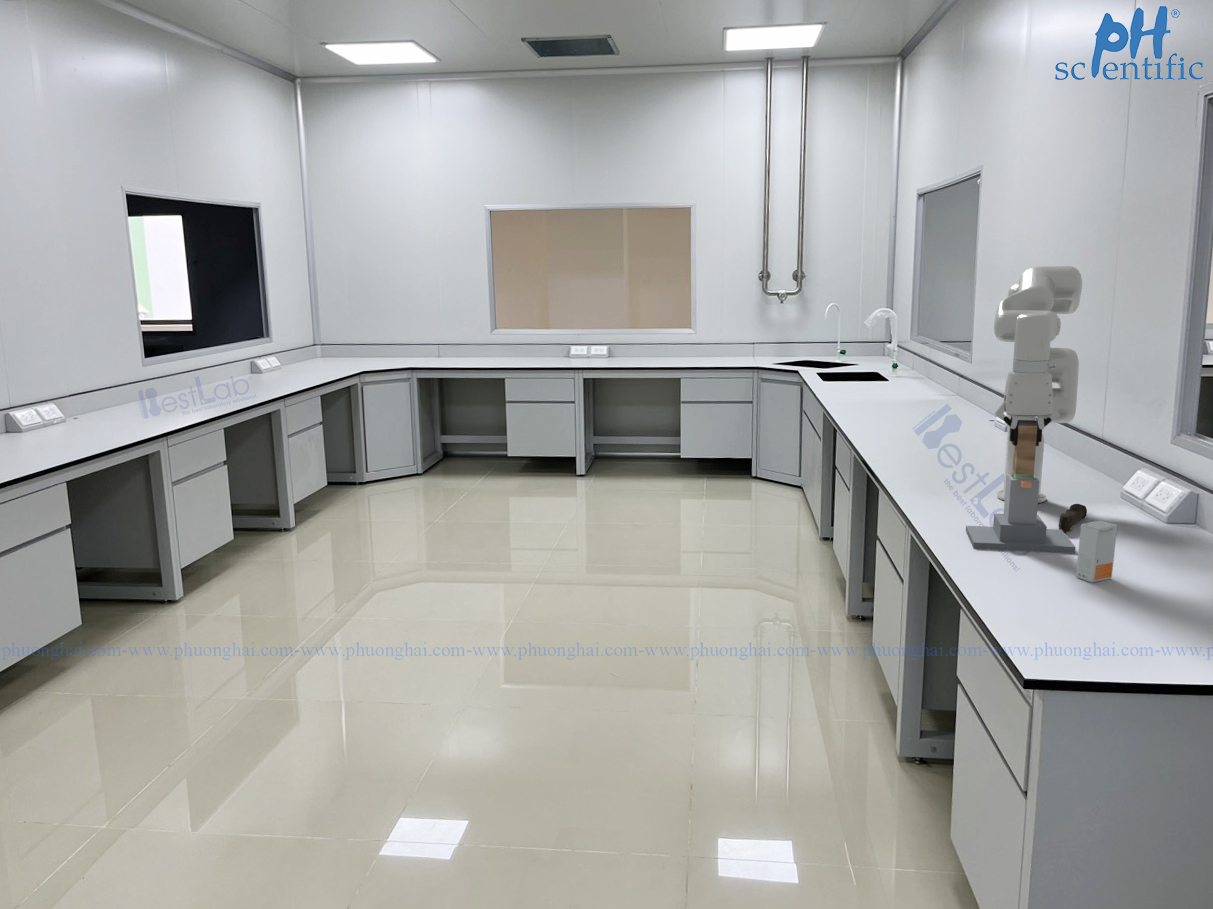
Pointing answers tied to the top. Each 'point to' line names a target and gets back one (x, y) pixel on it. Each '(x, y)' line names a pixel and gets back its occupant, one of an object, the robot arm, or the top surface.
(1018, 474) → the post
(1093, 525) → the skincare box
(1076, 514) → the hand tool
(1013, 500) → the stand base
